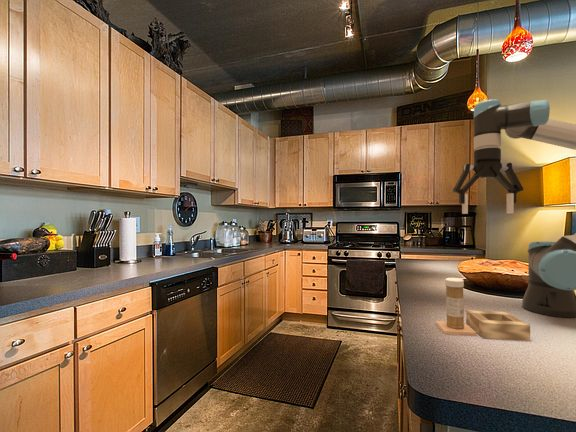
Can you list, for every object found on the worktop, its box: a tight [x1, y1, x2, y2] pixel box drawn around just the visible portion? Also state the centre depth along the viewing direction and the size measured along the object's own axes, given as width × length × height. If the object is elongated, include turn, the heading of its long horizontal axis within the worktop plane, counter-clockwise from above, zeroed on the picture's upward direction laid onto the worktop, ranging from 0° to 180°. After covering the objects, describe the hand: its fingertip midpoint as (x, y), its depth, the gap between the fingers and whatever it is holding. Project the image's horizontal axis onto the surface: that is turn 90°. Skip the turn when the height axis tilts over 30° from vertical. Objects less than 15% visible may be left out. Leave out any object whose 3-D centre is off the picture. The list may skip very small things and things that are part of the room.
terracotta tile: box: [435, 320, 478, 337], centre depth 87 cm, size 8×8×1 cm
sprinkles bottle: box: [445, 277, 465, 329], centre depth 87 cm, size 5×5×13 cm
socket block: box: [465, 309, 531, 342], centre depth 85 cm, size 11×11×4 cm
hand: (487, 213), depth 101 cm, fingers open, 13 cm apart
